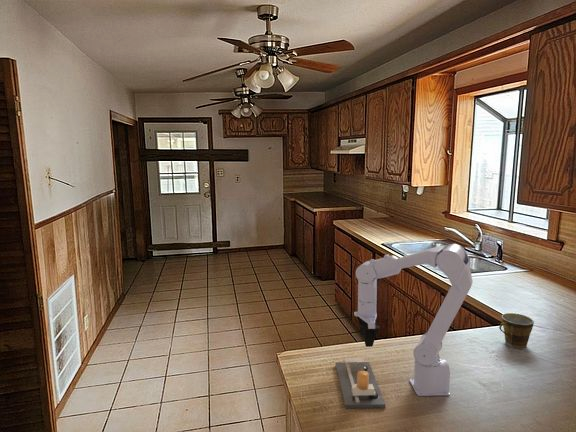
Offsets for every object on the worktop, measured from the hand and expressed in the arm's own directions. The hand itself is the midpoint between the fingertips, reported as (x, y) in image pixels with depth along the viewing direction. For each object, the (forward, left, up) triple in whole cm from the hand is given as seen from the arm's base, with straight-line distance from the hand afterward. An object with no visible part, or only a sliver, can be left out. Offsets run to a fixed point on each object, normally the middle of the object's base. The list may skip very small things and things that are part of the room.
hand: (366, 340), depth 123 cm
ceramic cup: (-56, -15, -11) cm, 59 cm away
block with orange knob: (+4, +15, -9) cm, 18 cm away
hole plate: (+4, +8, -10) cm, 14 cm away
